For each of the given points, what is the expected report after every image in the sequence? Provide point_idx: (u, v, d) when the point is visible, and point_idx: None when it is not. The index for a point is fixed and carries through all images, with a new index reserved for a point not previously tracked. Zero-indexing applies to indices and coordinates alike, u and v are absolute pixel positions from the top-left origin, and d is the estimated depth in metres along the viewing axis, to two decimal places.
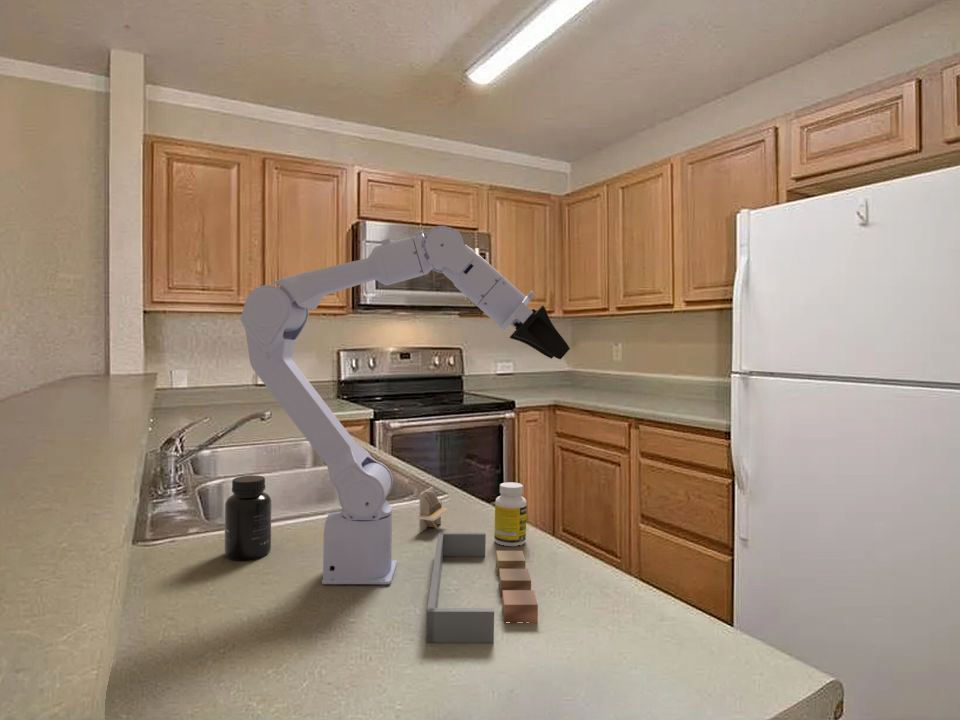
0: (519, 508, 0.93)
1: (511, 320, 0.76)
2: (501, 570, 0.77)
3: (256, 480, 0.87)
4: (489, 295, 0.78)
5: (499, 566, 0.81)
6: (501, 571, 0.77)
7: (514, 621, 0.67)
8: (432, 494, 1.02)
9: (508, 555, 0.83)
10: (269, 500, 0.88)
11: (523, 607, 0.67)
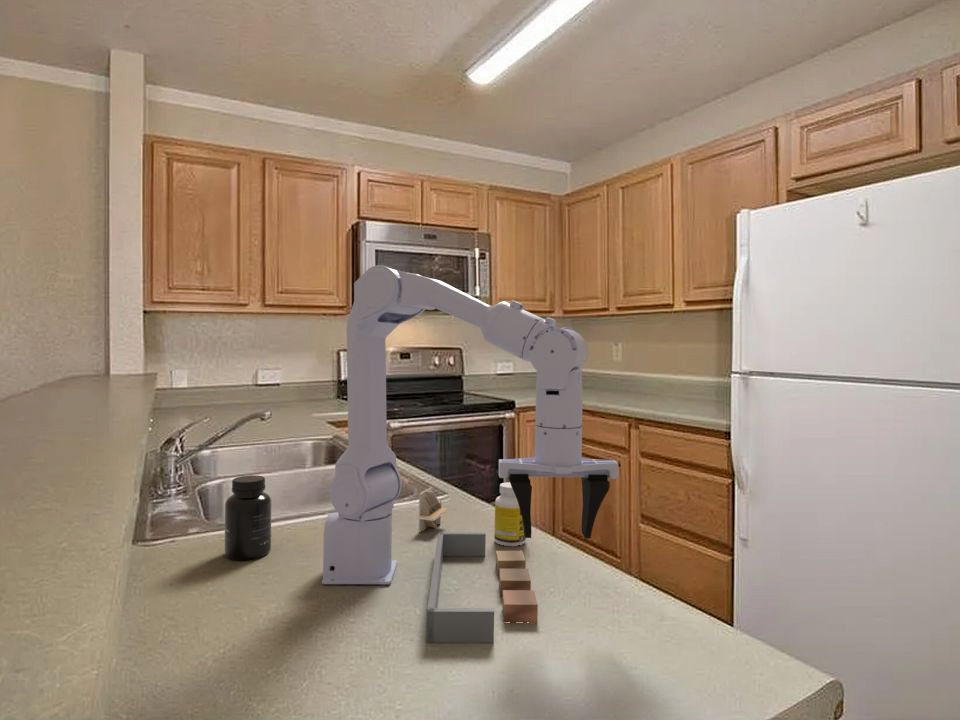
0: (519, 508, 0.93)
1: None
2: (501, 570, 0.77)
3: (256, 480, 0.87)
4: None
5: (499, 566, 0.81)
6: (501, 571, 0.77)
7: (514, 621, 0.67)
8: (432, 494, 1.02)
9: (508, 555, 0.83)
10: (269, 500, 0.88)
11: (523, 607, 0.67)
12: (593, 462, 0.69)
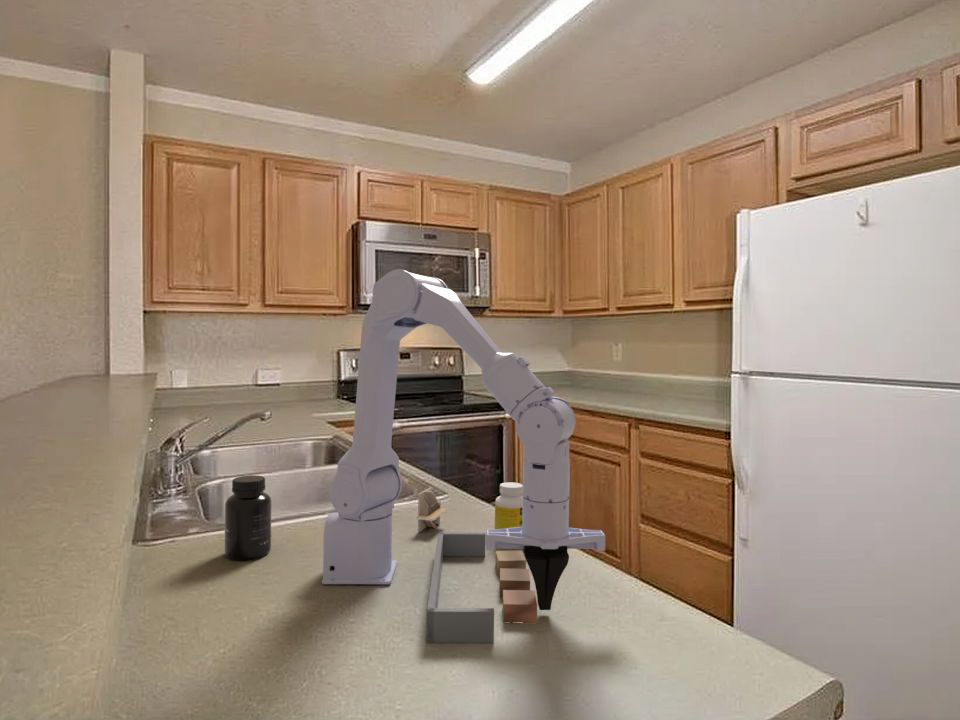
0: (519, 508, 0.93)
1: None
2: (502, 570, 0.78)
3: (256, 480, 0.87)
4: None
5: (500, 566, 0.81)
6: (501, 571, 0.77)
7: (513, 621, 0.67)
8: (431, 494, 1.02)
9: (508, 555, 0.83)
10: (269, 500, 0.88)
11: (522, 607, 0.67)
12: (580, 533, 0.69)
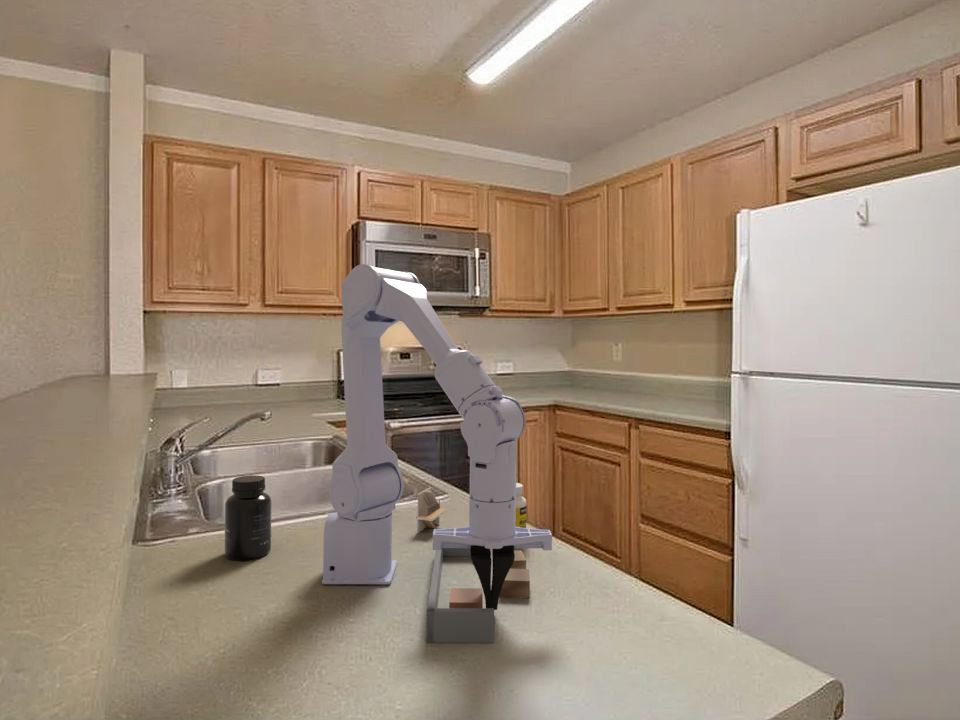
0: (519, 508, 0.93)
1: None
2: None
3: (256, 480, 0.87)
4: None
5: None
6: None
7: None
8: (430, 494, 1.02)
9: None
10: (269, 500, 0.88)
11: (468, 605, 0.67)
12: (527, 533, 0.69)
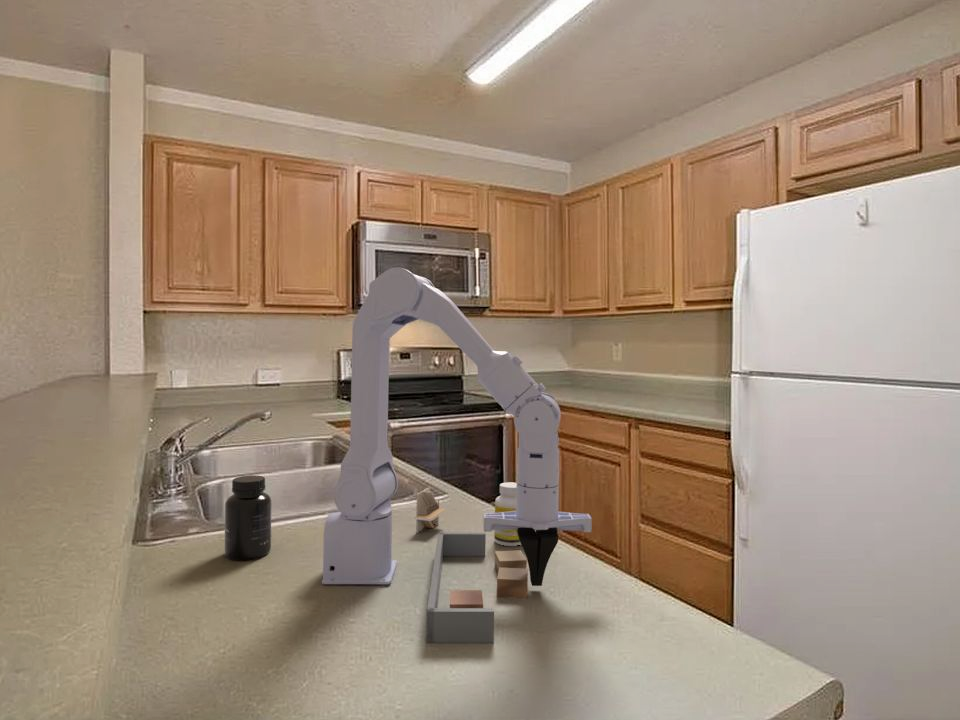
0: None
1: None
2: (500, 569, 0.78)
3: (256, 480, 0.87)
4: None
5: (501, 567, 0.81)
6: (500, 570, 0.77)
7: None
8: (429, 494, 1.02)
9: (508, 555, 0.83)
10: (269, 500, 0.88)
11: (468, 606, 0.67)
12: (569, 516, 0.76)
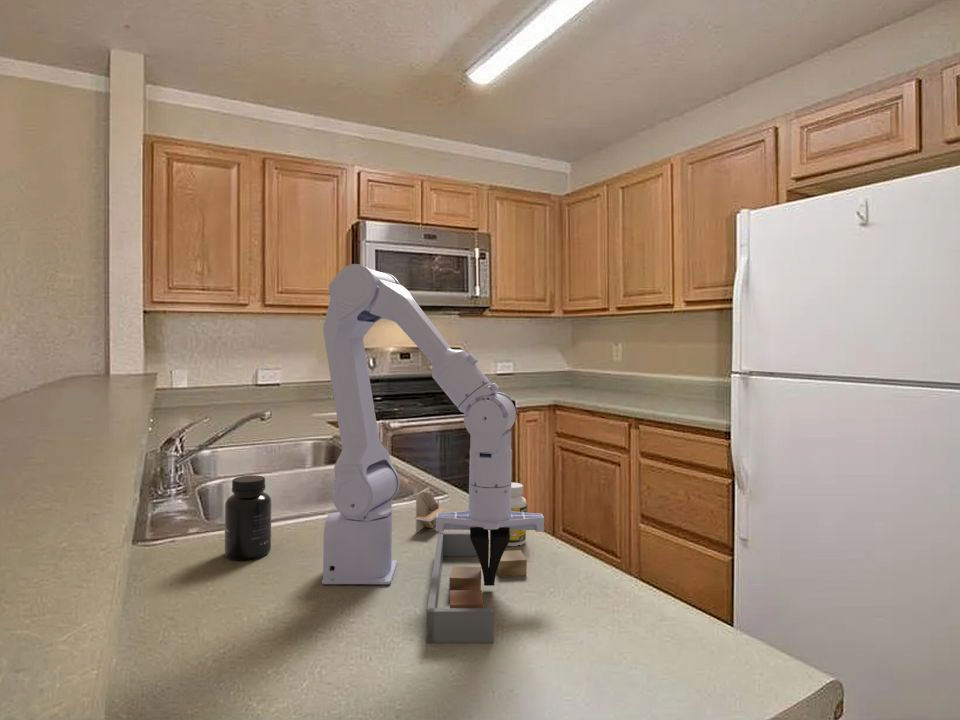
0: (519, 508, 0.93)
1: None
2: (454, 568, 0.77)
3: (256, 480, 0.87)
4: None
5: (501, 567, 0.81)
6: (453, 569, 0.77)
7: None
8: (429, 494, 1.02)
9: (508, 555, 0.83)
10: (269, 500, 0.88)
11: (469, 607, 0.67)
12: (522, 516, 0.76)
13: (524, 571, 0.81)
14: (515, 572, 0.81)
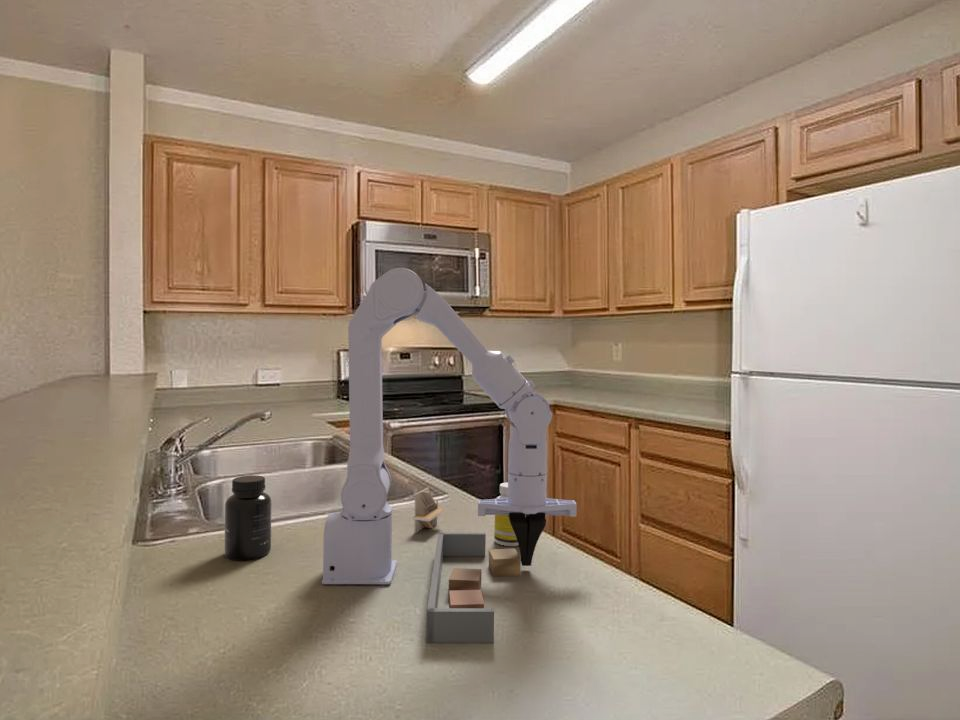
0: None
1: None
2: (454, 569, 0.78)
3: (256, 480, 0.87)
4: None
5: (494, 565, 0.81)
6: (453, 570, 0.77)
7: None
8: (428, 494, 1.02)
9: (502, 553, 0.83)
10: (269, 500, 0.88)
11: (469, 606, 0.67)
12: (556, 502, 0.83)
13: (518, 569, 0.81)
14: (509, 570, 0.81)
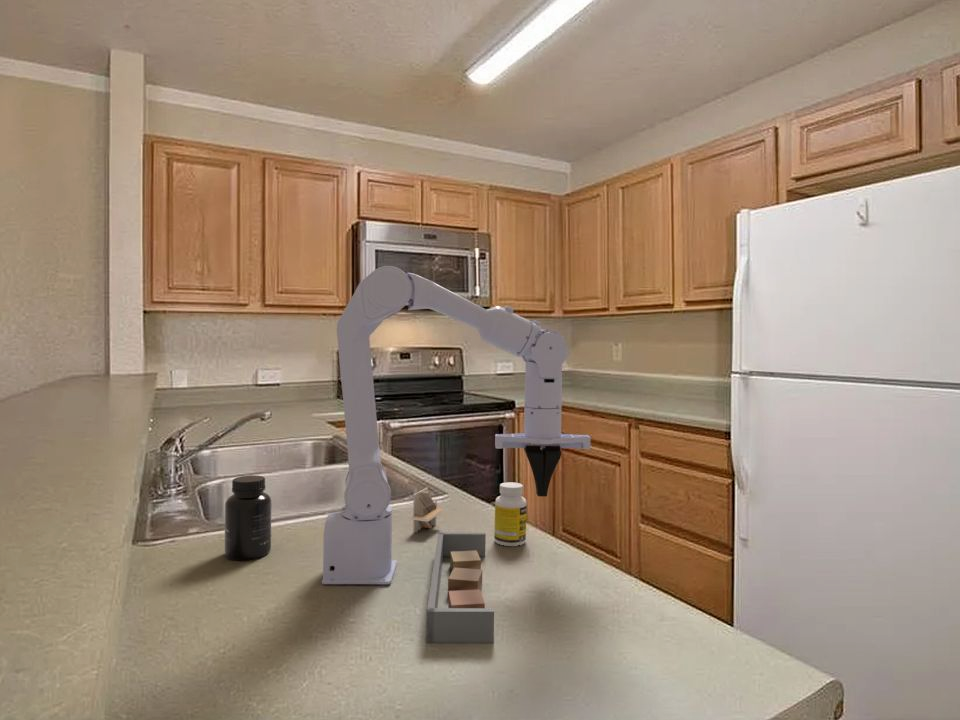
0: (519, 508, 0.93)
1: None
2: (455, 569, 0.78)
3: (256, 480, 0.87)
4: None
5: (455, 567, 0.81)
6: (454, 570, 0.77)
7: None
8: (427, 495, 1.01)
9: (463, 555, 0.83)
10: (269, 500, 0.88)
11: (470, 606, 0.67)
12: (570, 436, 0.86)
13: None
14: None
